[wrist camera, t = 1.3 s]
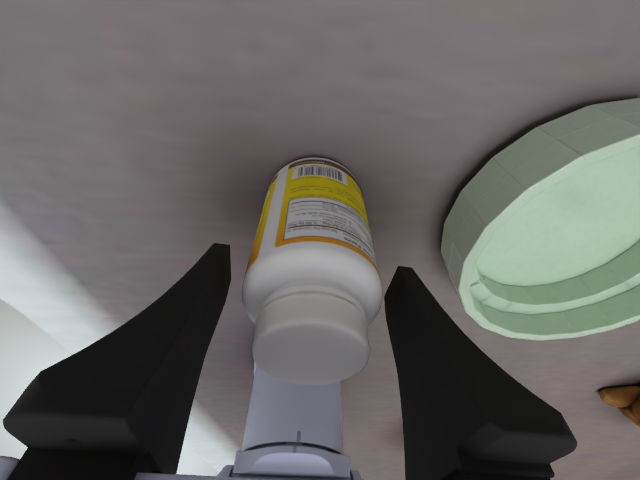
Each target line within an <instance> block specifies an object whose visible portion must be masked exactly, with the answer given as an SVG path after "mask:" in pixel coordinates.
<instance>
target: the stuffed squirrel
mask: <svg viewBox="0 0 640 480" xmlns="http://www.w3.org/2000/svg"><path fill="white" fill-rule="evenodd" d="M599 394H600V397H601V399H602V400H603V401H604V402H605V403H607V404H609V405H611V406H615V407H618V408H619V409H620V411H621V412H622V413H623V414H624V415H625V416H626V417H628V418H629V419H630V420H631V421H633V422H634V423H635V424H636V425H638V426H639V427H640V387H638V386H626V387H617V388H608V389H603V390H602V391H600V392H599Z"/></svg>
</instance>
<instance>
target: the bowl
mask: <svg viewBox="0 0 640 480" xmlns="http://www.w3.org/2000/svg"><path fill="white" fill-rule="evenodd" d="M441 254H442V257H443V260H444V263H445V266H446V269H447V272H448V274H449V276H450V279H451V281H452V283H453V285H454V288H455V290H456V292H457V294H458V297H459V299H460V301H461V303H462V306H463V308H464V310H465V312H466V313H467V314H468V315H469V316H471V317H472V318H473V319H474V320H475V321H476V322H477V323H478V324H479V325H480V326H481V327H483V328H485V329H488V330H490V331H493V332H496V333H498V334H501V335H503V336H506V337H510V338H520V339H529V340H551V339H564V338H576V337H581V336H585V335H590V334H594V333H599V332H603V331H608V330H612V329H615V328H619V327H621V326H624V325H627V324H630V323H633V322H635V321H638V320H640V98H634V99H627V100H620V101H613V102H606V103H600V104H593V105H589V106H586V107H584V108H581V109H579V110H576V111H574V112H571V113H569V114H567V115H564V116H562V117H559V118H557V119H554V120H552V121H550V122H547V123H545V124H542V125H540V126H538V127H535V128H534V129H532V130H531V131H530V132H528V133H527V134H525V135H524V136H522V137H521V138H519V139H518V140H517V141H515V142H514V143H512V144H511V145H509V146H508V147H506V148H505V149H503V150H502V151H501V152H499V153H498V154H496V155H495V156H493V158H491V159H490V160H489V161H488V162H487V163H486V164H485V165H484V167H483V168H482V169H481V170H480V171H479V172H478V173H477V174H476V175H475V176H474V177H473V178H472V180H471V181H470V182H469V183H468V184H467V185H466V186H465V187H464V188H463V189H462V190H461V192H460V194H459V196H458V198H457V199H456V201H455V203H454V205H453V207H452V209H451V211H450V213H449V215H448V217H447V219H446V221H445V223H444V229H443V236H442V244H441Z"/></svg>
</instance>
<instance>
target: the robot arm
mask: <svg viewBox="0 0 640 480" xmlns="http://www.w3.org/2000/svg"><path fill="white" fill-rule="evenodd" d="M230 281H231V261H230V245H226V244H218V243H214V244H213V245H212V246H211V247H210V248H209V249H208V250H207V252H206V253H205V254H204V255H203V256H202V257H201V258H200V259H199V261H198V262H197V263H196V264H195V265H194V266H193V267H192V268H191V269H190V270H189V271H188V272H187V273H186V274H185V275H184V276H183V277H182V278H181V279H180V280H179V281H178V282H177V283H175V284H174V285H173V286H172V287H171V288H170V289H169V290H168V291H167V292H165V293H164V294H163V295H162V296H161V297H160V298H158V299H157V300H156V301H155V302H154V303H152V304H151V305H150V306H148V307H147V308H146V309H145V310H143V311H142V312H141V313H139V314H138V315H136V316H135V317H133V318H132V319H131V320H129V321H128V322H126V323H125V324H124V325H122V326H121V327H119V328H118V329H116V330H114V331H113V332H111V333H110V334H108V335H106V336H105V337H103V338H101V339H100V340H98V341H96V342H95V343H93V344H91V345H90V346H88V347H86V348H85V349H83V350H81V351H79V352H77V353H76V354H74V355H72V356H70V357H68V358H66V359H64V360H62V361H60V362H58V363H57V364H54V365H53V366H51V367H49V368H47V369H45V370H43V371H41V372H40V373H39V374H38V375H37V376H36V378H35V379H34V380H33V381H32V382H31V383H30V385H29V386H28V387H27V388H26V389H25V391H24V392H23V394H22V395H21V396H20V398H19V399H18V400H17V402H16V403H15V404H14V406H13V407H12V408H11V410H10V411H9V412H8V414H7V415H6V417H5V418H4V419H3V424H4V428H5V429H6V430H7V431H8V432H9V433H10V434H11V435H13V436H14V437H15V438H17V439H18V440H19V441H21V442H22V443H23V444H24V445H26V446H27V447H28V448H27V450H26V451H25V453H24V455H23V456H22V458H21V459H20V460H19V459H16V458H13V457H6V456H0V480H363V478H362V477H361V475H360V473H359V472H358V471H357V470H350V458H349V455H344V449H343V428H342V406H341V384H340V381H339V382H335V383H330V384H322V385H303V384H296V383H290V382H286V381H283V380H280V379H277V378H275V377H272V376H270V375H269V374H267V373H265V372H264V371H263V370H262V369H261V368H260V367H259V366H258V365H257V364H256V362H255V361H254V376H255V377H254V382H253V388H252V394H251V399H250V405H249V411H248V416H247V422H246V428H245V433H244V439H243V445H242V450H241V451H237V452H236V457H235V463H234V465H226V466H225V467H224V468H223V469H222V471H221V472H220V473H219V474H218V475H217V476H196V475H178V474H176V472H177V468H178V463H179V458H180V454H181V450H182V445H183V441H184V436H185V432H186V428H187V424H188V420H189V416H190V411H191V407H192V403H193V400H194V396H195V392H196V388H197V384H198V380H199V376H200V373H201V369H202V365H203V362H204V358H205V355H206V352H207V349H208V346H209V344H210V341H211V339H212V336H213V333H214V331H215V328H216V325H217V323H218V320H219V317H220V315H221V312H222V309H223V307H224V304H225V301H226V298H227V294H228V290H229V286H230ZM384 300H385V313H386V321H387V325H388V330H389V335H390V339H391V344H392V349H393V353H394V358H395V362H396V367H397V373H398V380H399V389H400V397H401V408H402V419H403V434H404V450H405V476H406V480H550V478H552V477H554V472H553V470H552V468H551V466H550V464H549V463H551V462H553V461H555V460H557V459H559V458H562V457H564V456H566V455H568V454H569V453H571V452H573V451H574V450H575V448H576V446H577V441H576V439H575V437H574V435H573V434H572V432H571V430H570V428H569V427H568V425H567V423H566V421H565V419H564V418H563V416H562V414H561V413H560V412H559V411H557V410H556V409H554V408H553V407H552V406H550V405H549V404H547V403H546V402H544V401H543V400H542V399H540V398H539V397H537V396H536V395H535V394H533V393H532V392H530V391H529V390H528V389H526V388H525V387H524V386H523V385H521V384H520V383H519V382H517V381H516V380H515V379H514V378H512V377H511V376H510V375H509V374H507V373H506V372H505V371H504V370H503V369H501V368H500V367H499V366H498V365H497V364H496V363H495V362H493V361H492V360H491V359H490V358H489V357H488V356H487V355H486V354H485V353H483V352H482V351H481V350H480V349H479V348H478V347H477V346H476V345H475V344H474V343H473V342H472V341H471V340H470V339H469V338H468V337H467V336H466V335H465V334H464V333H463V331H462V330H461V329H460V328H459V327H458V326H457V325H456V324H455V323H454V321H453V320H452V319H451V318H450V317H449V316H448V314H447V313H446V312H445V311H444V310H443V308H442V307H441V306H440V305H439V303H438V302H437V301H436V299H435V298H434V297H433V296H432V294H431V293H430V292H429V290H428V289H427V288H426V286H425V285H424V284H423V282H422V281H421V279H420V278H419V277H418V275H417V274H416V273H415V271H414V270H413V269H412V268H410V267H402V266H398V267H397V270H396V272H395V274H394V276H393V278H392V281H391V283H390V285H389V287H388V289H387V292H386V294H385V296H384Z"/></svg>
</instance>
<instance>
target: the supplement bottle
mask: <svg viewBox="0 0 640 480" xmlns="http://www.w3.org/2000/svg"><path fill="white" fill-rule="evenodd" d="M242 301H243V305H244V308H245V310H246V313H247V314H248V316H249V317H250V319H251V320H252V321H253V322H254V324H255V327H254V328H255V333H254V339H253V345H252V355H253V359H254V361H255V362H256V364H257V365H258V366H259V367H260V368H261V369H262V370H263V371H264V372H265V373H267V374H269V375H270V376H272V377H275V378H277V379H280V380H283V381H286V382H290V383H296V384H303V385H322V384H330V383H335V382H339V381H342V380H345V379H347V378H350V377H352V376H354V375H355V374H357V373H358V372H359V371H361V370H362V369H363V368H364V366H365V365H366V363H367V361H368V359H369V341H368V326H369V325H370V324H371V322H372V321H373V320H374V319H375V317H376V315H377V314H378V312H379V309H380V306H381V302H382V286H381V280H380V276H379V271H378V266H377V262H376V257H375V253H374V248H373V243H372V239H371V233H370V229H369V224H368V219H367V215H366V210H365V205H364V200H363V195H362V191H361V188H360V186H359V184H358V182H357V180H356V178H355V177H354V176H353V174H352V173H351V172H350V171H349V170H347V169H346V168H345V167H344V166H342V165H340V164H339V163H337V162H334V161H332V160H329V159H325V158H304V159H300V160H296V161H294V162H292V163H290V164H288V165H286V166H285V167H283V168H282V169H281V170H280V171H279V172H278V173H277V174H276V175H275V176H274V178H273V179H272V181H271V183H270V185H269V188H268V191H267V194H266V198H265V202H264V206H263V210H262V214H261V217H260V221H259V225H258V228H257V232H256V236H255V240H254V243H253V247H252V250H251V254H250V258H249V262H248V266H247V269H246V273H245V277H244V282H243V287H242Z"/></svg>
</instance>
